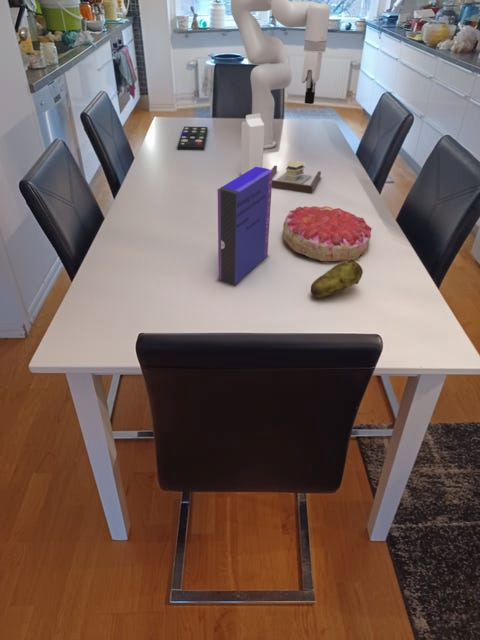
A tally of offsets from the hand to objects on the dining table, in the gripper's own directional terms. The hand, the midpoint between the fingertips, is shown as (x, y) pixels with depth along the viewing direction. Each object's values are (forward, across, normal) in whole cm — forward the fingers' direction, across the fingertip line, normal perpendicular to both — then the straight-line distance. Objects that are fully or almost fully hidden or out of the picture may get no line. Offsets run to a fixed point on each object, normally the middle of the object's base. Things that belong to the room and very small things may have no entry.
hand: (309, 103), depth 172 cm
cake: (+23, +62, +20) cm, 70 cm away
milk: (+23, +19, -16) cm, 34 cm away
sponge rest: (+23, +19, 0) cm, 30 cm away
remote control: (+23, -15, -54) cm, 61 cm away
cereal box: (+23, +84, +2) cm, 87 cm away
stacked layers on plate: (+23, +16, 0) cm, 28 cm away
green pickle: (+23, +87, +27) cm, 94 cm away
